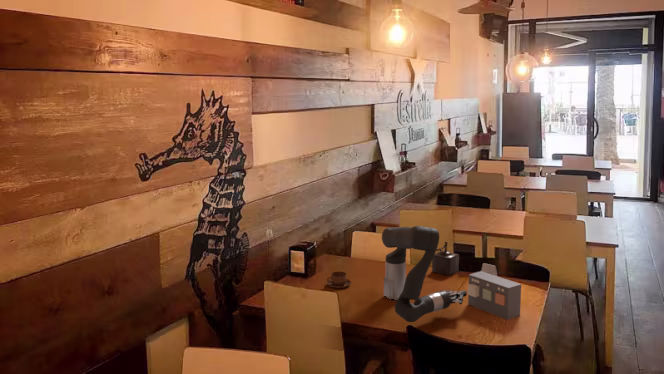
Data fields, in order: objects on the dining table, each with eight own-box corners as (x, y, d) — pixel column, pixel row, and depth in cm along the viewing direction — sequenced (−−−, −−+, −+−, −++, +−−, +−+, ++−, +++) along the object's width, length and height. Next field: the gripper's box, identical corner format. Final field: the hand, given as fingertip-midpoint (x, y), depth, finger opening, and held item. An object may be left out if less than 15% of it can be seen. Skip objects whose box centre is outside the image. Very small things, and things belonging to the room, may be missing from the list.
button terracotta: (495, 302, 254) (495, 292, 253) (502, 300, 256) (502, 290, 256) (503, 305, 250) (503, 295, 249) (510, 303, 253) (510, 293, 252)
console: (467, 304, 268) (468, 274, 265) (480, 300, 273) (481, 271, 270) (507, 320, 250) (508, 288, 248) (520, 315, 255) (521, 284, 252)
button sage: (482, 298, 260) (482, 288, 259) (489, 295, 262) (489, 286, 261) (490, 301, 256) (490, 291, 255) (497, 298, 258) (497, 289, 258)
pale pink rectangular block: (492, 286, 291) (493, 266, 289) (480, 283, 296) (481, 264, 294) (496, 284, 294) (497, 265, 292) (484, 281, 298) (484, 262, 296)
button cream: (467, 294, 264) (467, 284, 263) (474, 292, 267) (474, 282, 266) (475, 297, 261) (475, 287, 260) (482, 295, 263) (482, 285, 262)
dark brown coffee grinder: (441, 267, 322) (441, 234, 319) (459, 271, 315) (459, 238, 312) (424, 274, 311) (425, 240, 308) (443, 278, 304) (443, 244, 301)
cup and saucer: (338, 291, 287) (337, 279, 286) (321, 285, 296) (321, 273, 295) (356, 285, 295) (355, 273, 294) (339, 280, 304) (339, 268, 303)
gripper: (448, 297, 244) (477, 288, 254) (425, 288, 255) (454, 280, 265) (447, 314, 245) (476, 305, 255) (425, 305, 256) (454, 296, 266)
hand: (465, 292), depth 260 cm, fingers closed
